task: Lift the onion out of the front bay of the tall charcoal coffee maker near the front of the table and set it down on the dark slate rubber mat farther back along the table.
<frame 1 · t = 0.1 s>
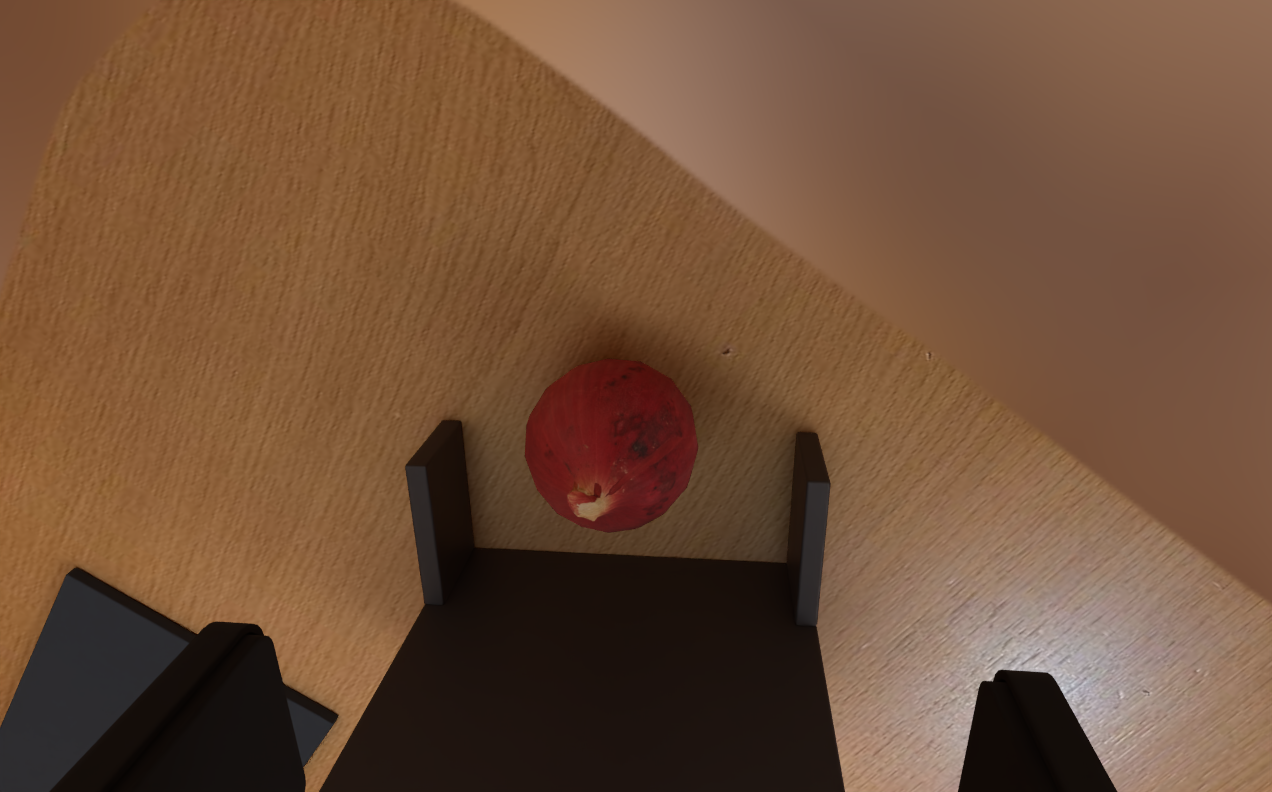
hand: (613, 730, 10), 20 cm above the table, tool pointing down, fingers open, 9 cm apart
mat: (131, 782, 41), on the table
onion: (625, 400, 30), on the table
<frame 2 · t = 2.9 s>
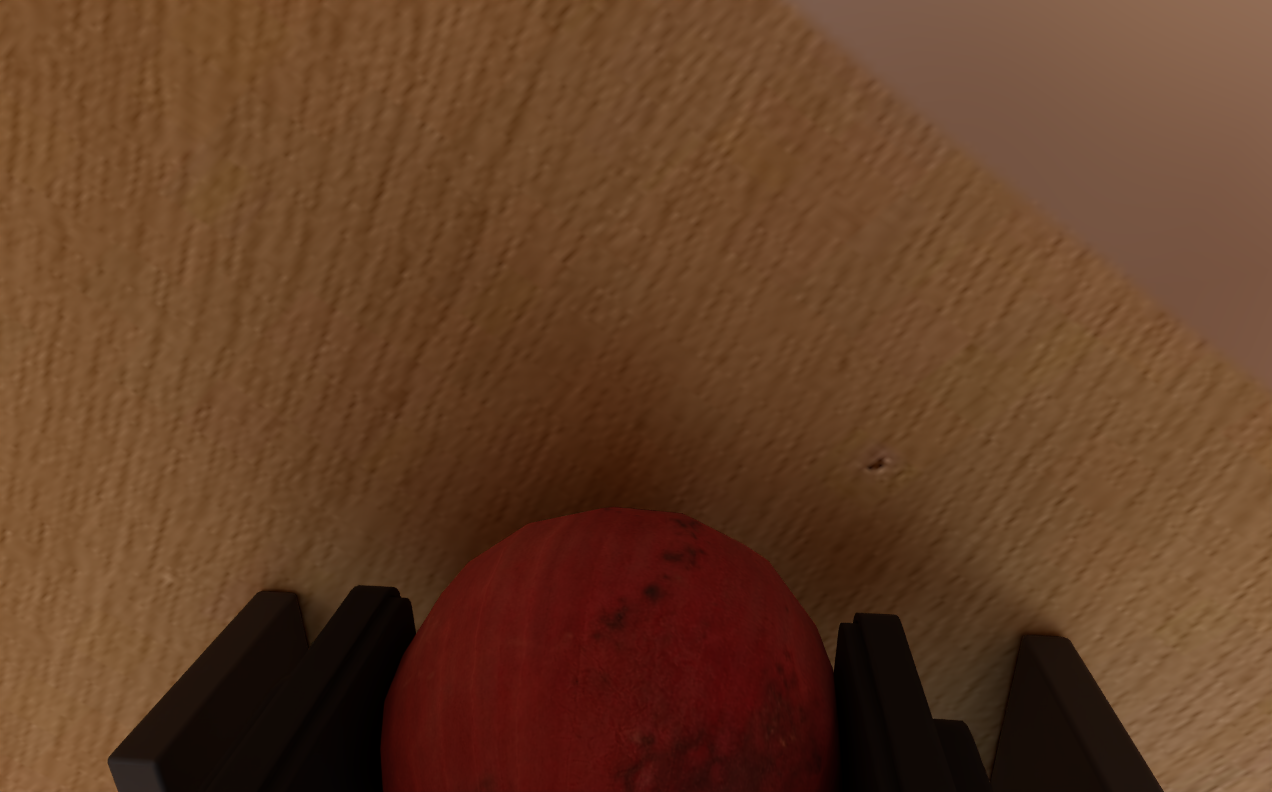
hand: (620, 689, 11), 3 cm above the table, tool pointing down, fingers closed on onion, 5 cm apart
onion: (642, 558, 14), on the table, touching gripper
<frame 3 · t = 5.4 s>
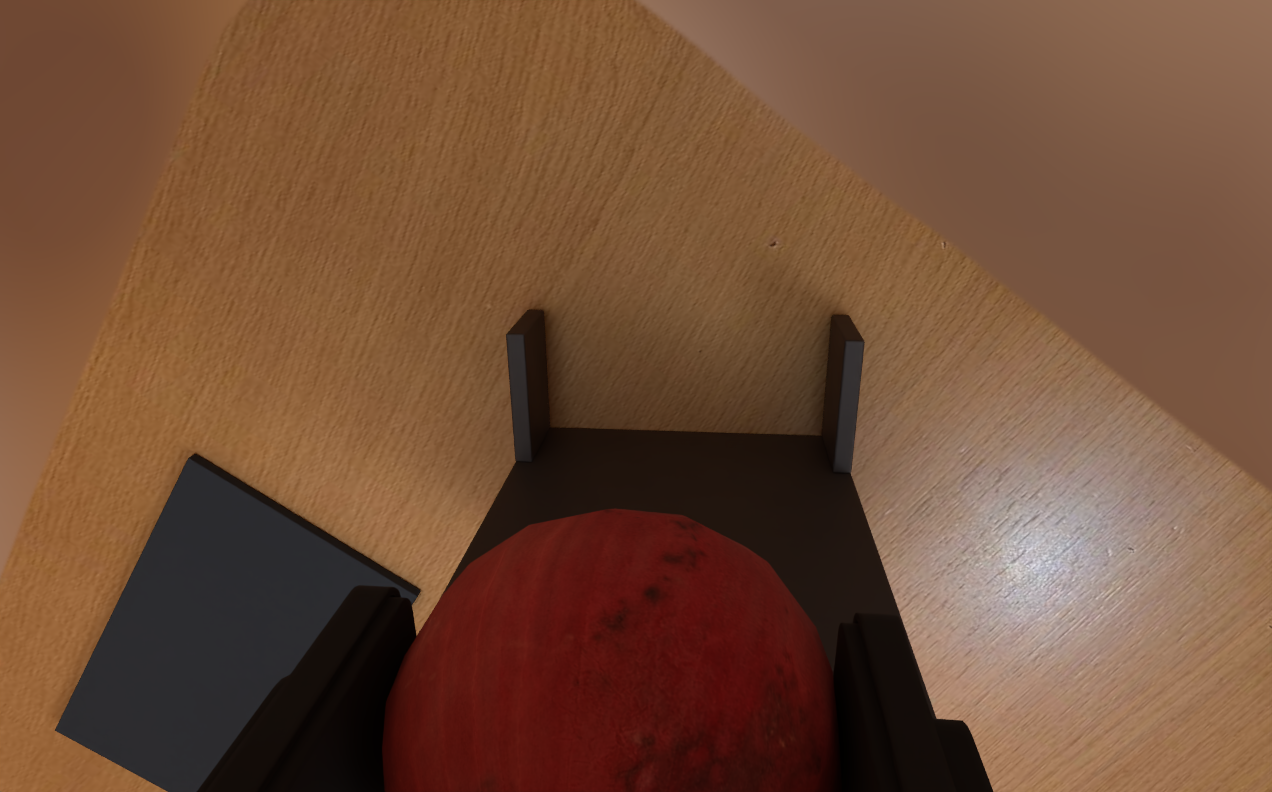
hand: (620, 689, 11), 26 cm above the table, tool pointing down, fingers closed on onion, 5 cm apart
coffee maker: (667, 594, 26), on the table
mat: (228, 661, 46), on the table
onion: (643, 559, 14), point 23 cm above the table, touching gripper
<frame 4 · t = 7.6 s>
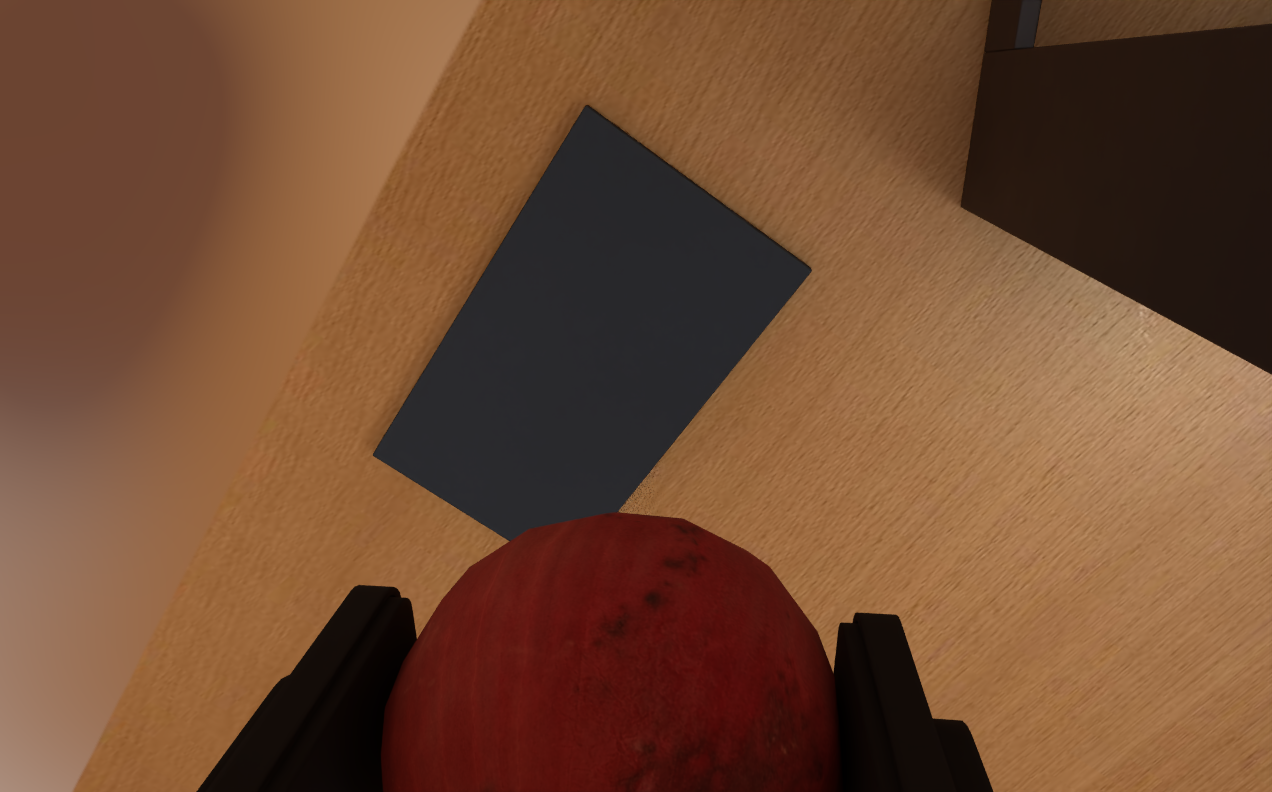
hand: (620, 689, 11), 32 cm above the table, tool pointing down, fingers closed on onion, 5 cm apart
mat: (576, 366, 43), on the table
onion: (643, 562, 14), point 29 cm above the table, touching gripper
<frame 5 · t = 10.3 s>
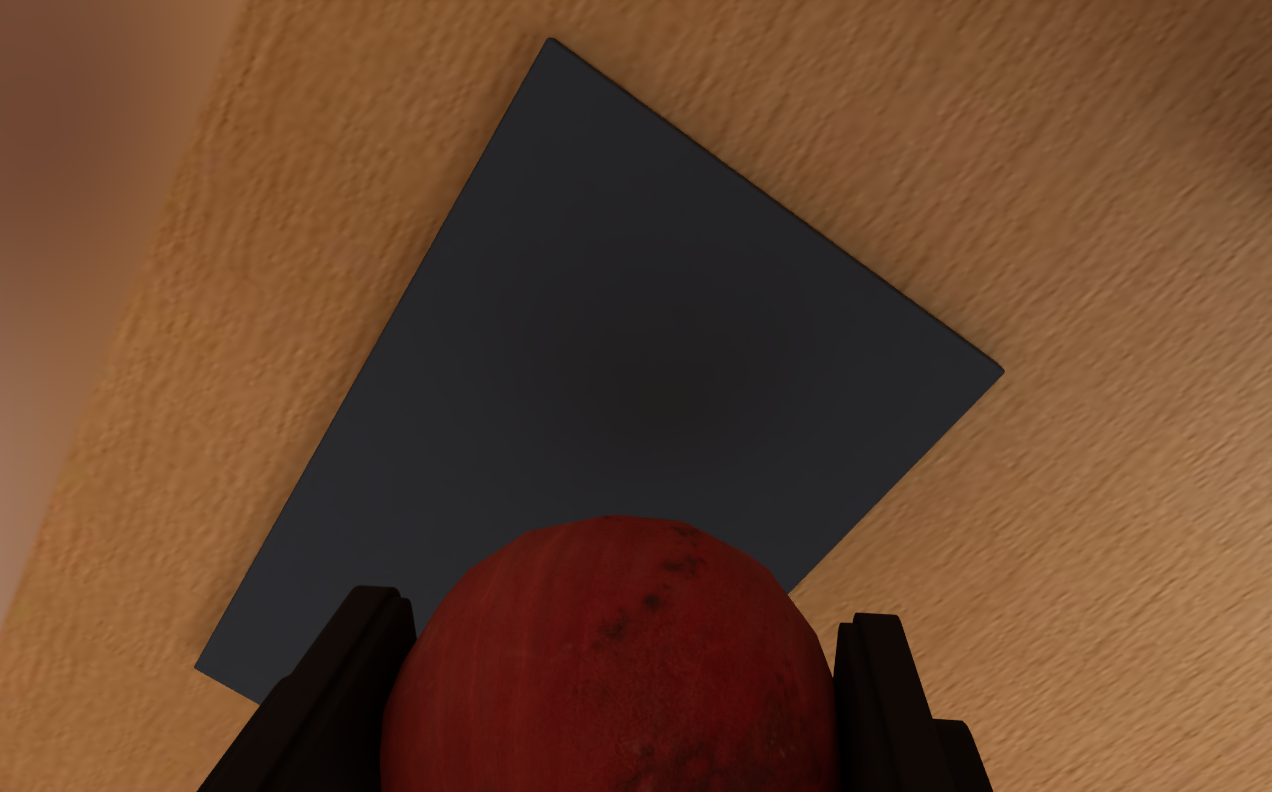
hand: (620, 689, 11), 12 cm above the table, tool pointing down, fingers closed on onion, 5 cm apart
mat: (542, 531, 24), on the table
onion: (642, 564, 14), point 8 cm above the table, touching gripper
when the fingers open (4 cm above the table, at t = 12.5 s): onion stays where it is, resting on mat.
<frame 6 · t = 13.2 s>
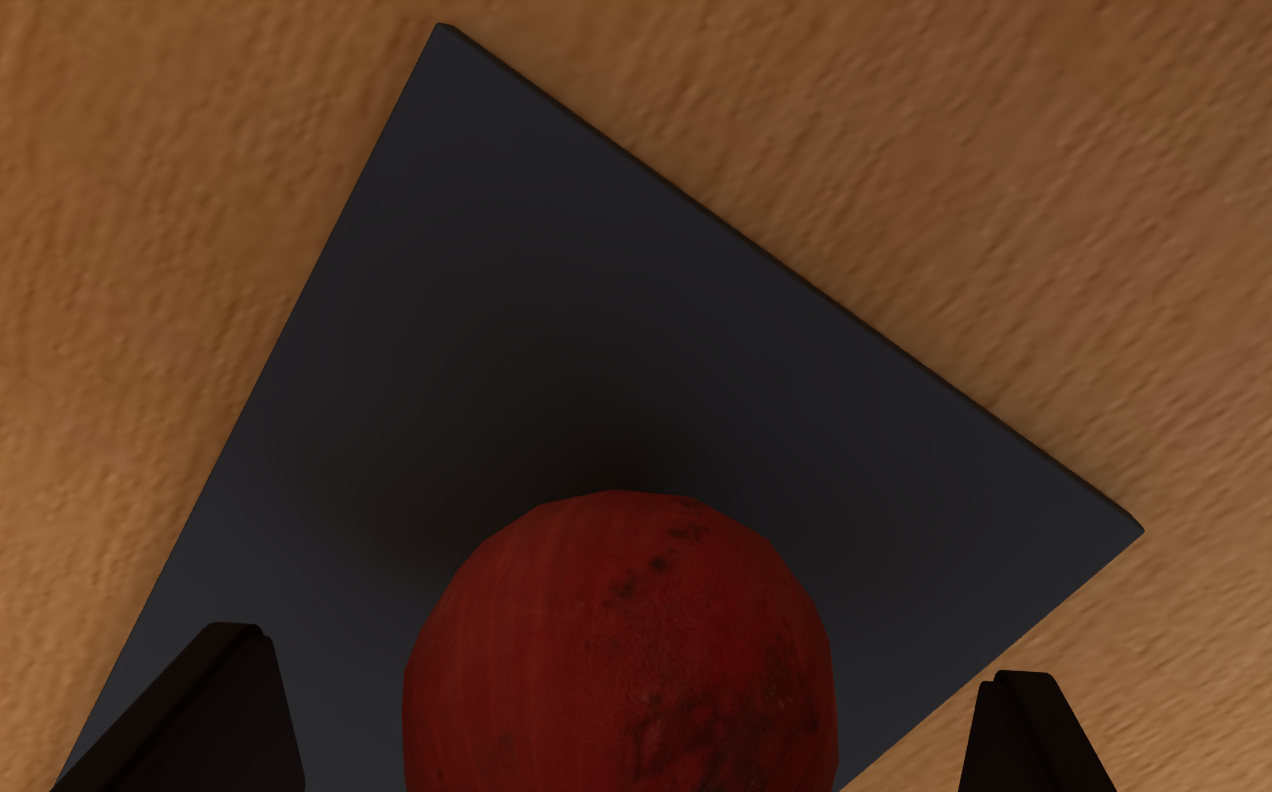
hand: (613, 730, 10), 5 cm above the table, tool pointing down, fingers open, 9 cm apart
mat: (466, 718, 17), on the table
onion: (647, 543, 14), resting on mat
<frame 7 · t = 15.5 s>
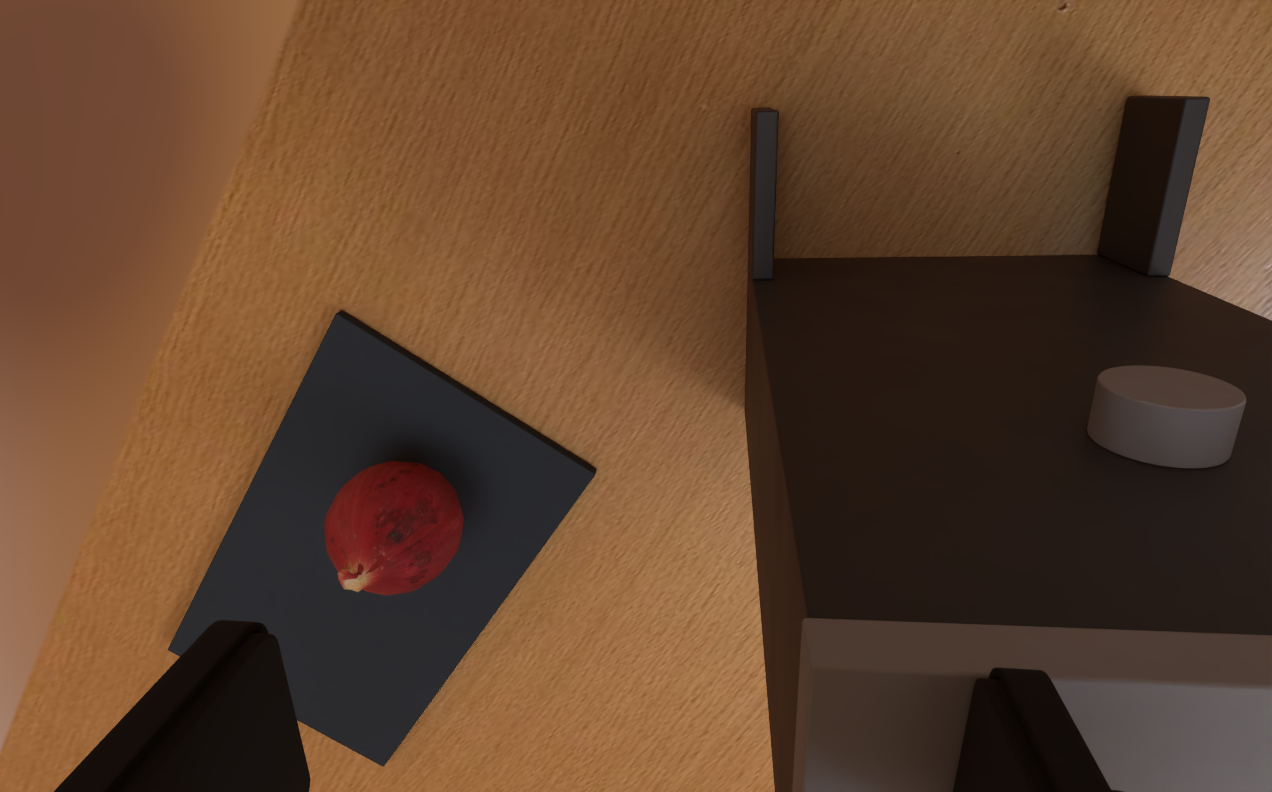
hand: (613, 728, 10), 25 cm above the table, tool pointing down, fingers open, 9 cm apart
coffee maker: (1043, 372, 21), on the table
mat: (367, 563, 41), on the table
onion: (426, 484, 38), resting on mat
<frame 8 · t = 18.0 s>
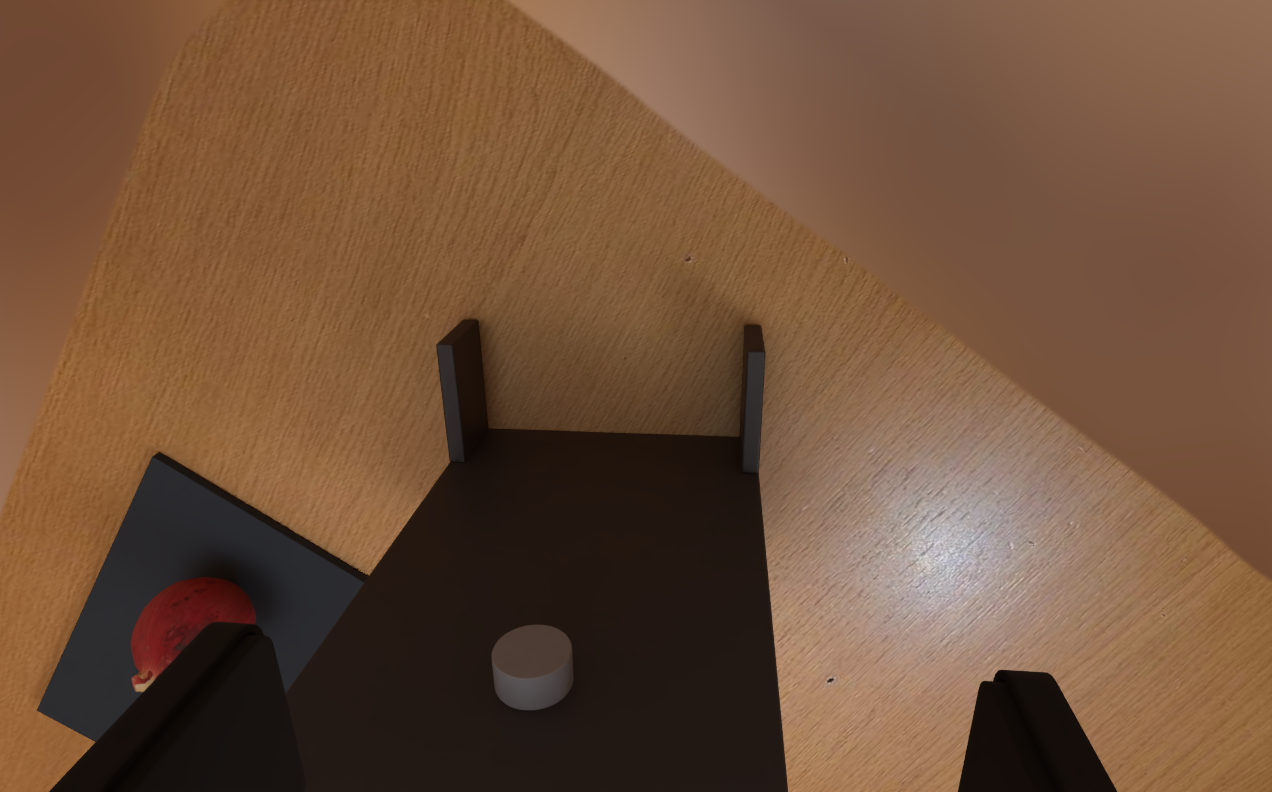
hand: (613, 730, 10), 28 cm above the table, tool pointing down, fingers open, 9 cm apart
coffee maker: (568, 586, 29), on the table
mat: (197, 646, 49), on the table
onion: (237, 588, 46), resting on mat
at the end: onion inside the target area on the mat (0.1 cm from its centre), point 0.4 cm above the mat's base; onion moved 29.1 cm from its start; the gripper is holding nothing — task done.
